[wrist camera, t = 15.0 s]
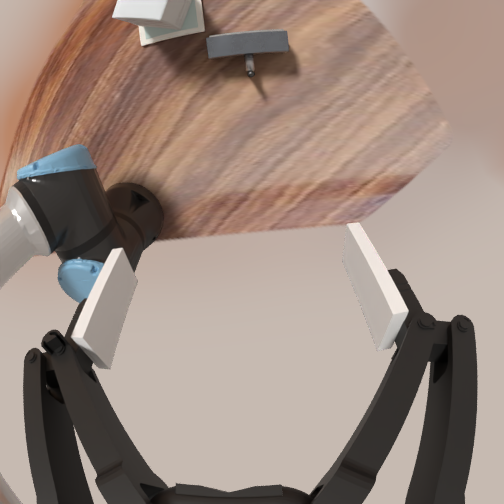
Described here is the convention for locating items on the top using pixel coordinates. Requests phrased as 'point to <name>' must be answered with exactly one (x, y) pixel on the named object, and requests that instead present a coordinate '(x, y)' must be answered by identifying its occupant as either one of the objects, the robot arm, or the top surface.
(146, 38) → the plate
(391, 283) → the robot arm
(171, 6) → the supplement box
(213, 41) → the vise
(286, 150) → the top surface
